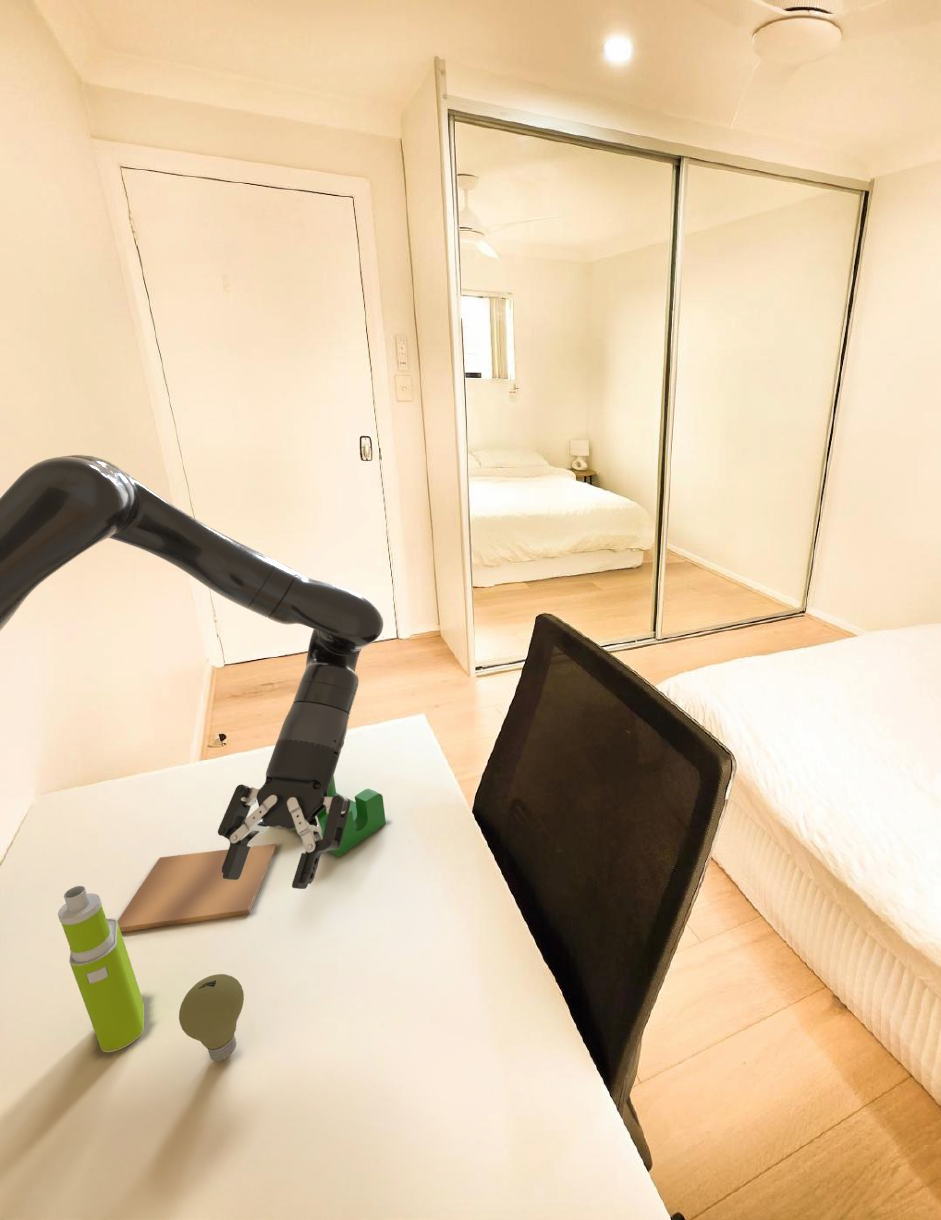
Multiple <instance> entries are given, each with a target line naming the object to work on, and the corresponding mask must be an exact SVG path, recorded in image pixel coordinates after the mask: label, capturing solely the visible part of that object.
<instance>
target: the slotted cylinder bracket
mask: <svg viewBox="0 0 941 1220" xmlns="http://www.w3.org/2000/svg"><path fill="white" fill-rule="evenodd" d="M335 781H336V780H335V775H334V776H333V779H332V782H331V784H330V786H329V788H328V791H327V795H328V797H334V796H336V795H339V796H342V794H339V793H338V792H337V787H336V782H335ZM350 802H351V803H350V808H349V812H348V816H347V821H346V825H345V829H344V834H343V838H342V843H341V846H340V848H339V849H337V850H330V851H329V852H330V853H331V854H333V855H335V856H337V857H341V856H343V855H344V854H345V853H346V852H348V851H349V850H351V849H352V848H354V847H355V846H356V845H358V844H359V843H360V842H362V841H363V840H365V839H366V838H367V837H370V835H372V834H373V833H374V832H376V831H377V830H378V829H380V828H381V827H383V826H385V824H386V815H385V805H384V797H383V794H381V793H379V792H377V791H375V790H374V789H371V788H365V789H363V790H362V791H361V792H358V794H356V795H354V801H353V800H351V799H350ZM327 817H328V814H327V813H326V807H325V808H324V809H323V810H322V811H321V812H320V813H319V814H318V815H317V818H318V821H319V824H320V827H321V830H322V832H321V835H322V838H323V834H324V830H325V825H326V821H327ZM290 831H292V832H294V833H296V834H298V833H297V830H292V829H290Z"/></svg>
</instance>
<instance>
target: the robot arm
mask: <svg viewBox="0 0 941 1220" xmlns="http://www.w3.org/2000/svg"><path fill="white" fill-rule="evenodd" d="M107 539H111V540H115V541H117V542H121V543H123V544H126V545H128V546H132V547H135V548H138V549H140V550H142V551H145V552H147V553H150V554H152V555H154V556H156V557H158V558H160V559H162V560H164V561H166V562H168V563H169V564H171V565H173V566H175V567H177V568H179V570H181V571H183V572H185V573H187V574H188V575H189V576H190V577H192V578H193V579H195V580H197V581H198V582H199V583H201V584H202V585H204V586H205V587H207V588H208V589H210V590H211V591H213V592H214V593H216V594H217V595H219V596H221V597H223V598H225V599H226V600H228V601H230V602H232V603H234V604H236V605H238V606H240V607H243V608H244V609H246V610H249V611H251V612H253V613H255V614H258V615H260V616H262V617H264V618H267V619H269V620H272V621H273V622H276V623H278V624H282V625H285V626H286V625H287V626H288V625H289V626H290V625H302V626H305V627H307V628H310V629H312V633H311V635H310V640H309V643H308V649H307V653H306V654H307V655H306V659H305V668H304V672H303V674H302V677H301V679H300V681H299V684H298V687H297V690H296V692H295V696H294V698H293V700H292V704H291V706H290V708H289V710H288V712H287V713H286V716H285V718H284V720H283V723H282V725H281V729H280V731H279V734H278V737H277V740H276V743H275V746H274V748H273V751H272V754H271V757H270V759H269V762H268V766H267V768H266V771H265V781H264V784H263V785H261V787H260V788H256V787H253V786H249V785H245V784H238V785H237V786H236V787H235V789H234V791H233V794H232V796H231V797H230V798H231V799H230V801H229V803H228V805H227V808H226V810H225V812H224V815H223V816H222V817H223V818H222V819H221V822H220V824H219V827H218V828H217V835H219V836H221V837H224V838H225V839H227V841H229V847H228V849H227V850H228V852H227V855H226V858H225V861H224V863H223V866H222V873H223V879H229V880H238V879H239V878H240V876H241V873H242V870H243V867H244V864H245V861H246V858H247V855H248V852H249V850H250V847H252V846H251V845H250V844H251V843H252V842H253V841H254V840H255V839H256V838H258V837H259V835H261V834H262V833H265V832H267V831H268V830H269V829H270V828H274V829H275V828H276V829H288V830H291V829H292V830H297V833H296V834H297V835H298V836H299V838H300V840H301V841H302V844H303V848H304V852H301V854H300V856H299V861H298V864H297V867H296V871H295V873H294V877H293V880H292V882H291V888H292V889H297V890H306V889H307V888H308V886H309V885H311V884H312V883H313V881H314V880H315V876H316V874H317V873H316V872H317V869H318V866H319V863H320V859H321V856H322V855H323V854H325V853H326V852H330V850H337V849H339V848H340V846H341V843H342V838H343V834H344V829H345V825H346V821H347V816H348V812H349V808H350V803H351V802H350V800H351V799H349V798H348V797H345V796H343V795H341V796H339V795H340V794H339V795H336V796H334V797H328V795H327V791H328V788H329V786H330V784H331V782H332V779H333V776H334V777H335V772H336V769H337V765H338V763H339V759H340V756H341V753H342V749H343V747H344V745H345V739H346V736H347V731H348V727H349V726H348V725H349V720H350V715H351V712H352V709H353V706H354V703H355V699H356V697H357V692H358V687H359V682H360V681H359V680H360V679H359V675H358V674H357V673H356V668H357V664H358V661H359V660H358V659H359V656H360V653H361V651H362V649H364V648H366V647H368V646H370V645H371V644H372V643H374V642H375V641H376V640H378V639H379V637H380V635H381V634H382V632H383V630H384V629H383V628H384V618H383V615H382V613H381V611H380V609H379V608H378V607H377V606H376V604H375V603H373V602H372V601H371V600H369V599H368V598H367V597H365V596H363V595H361V594H359V593H356V592H354V591H353V590H349V589H346V588H343V587H340V586H337V585H334V584H330V583H328V582H324V581H321V580H317V579H313V578H311V577H308V576H306V575H304V574H303V573H300V572H299V571H296V570H295V569H293V568H291V567H289V566H287V565H285V564H283V563H281V562H280V561H278V560H275V559H273V558H271V557H270V556H267V555H265V554H263V553H262V552H260V551H258V550H256V549H253V548H251V547H250V546H247V545H245V544H244V543H241V542H239V541H238V540H235V539H233V538H231V537H229V536H228V535H225V534H223V533H221V532H220V531H218V530H215V529H214V528H212V527H210V526H208V525H206V524H204V523H203V522H201V521H199V520H198V519H196V518H194V517H193V516H191V515H190V514H188V513H186V512H185V511H183V510H181V509H179V508H178V507H176V506H175V505H173V504H172V503H170V502H168V501H167V500H165V499H164V498H163V497H161V496H160V495H158V494H157V493H155V492H154V491H152V490H151V489H149V488H148V487H147V486H145V485H144V484H143V483H141V482H140V481H138V480H137V479H135V478H134V477H132V476H131V475H130V474H128V473H127V472H125V471H124V470H123V469H121V468H120V467H119V466H117V465H116V464H114V463H113V462H110V461H109V460H106V459H104V458H100V457H97V456H94V455H85V454H71V455H65V456H63V455H62V456H55V457H50V458H47V459H44V460H41V461H39V462H37V463H35V464H33V465H32V466H30V467H29V468H27V469H26V470H24V471H23V473H22V474H21V475H20V476H19V477H18V478H17V479H16V480H15V481H14V482H13V483H12V484H11V485H10V486H9V488H8V489H7V490H6V491H4V493H3V495H2V496H0V632H1V631H2V630H3V629H4V627H5V626H6V625H7V624H8V623H9V622H10V620H11V619H12V618H13V616H15V614H16V612H17V611H18V609H19V608H20V607H21V605H22V604H23V603H24V601H25V600H26V599H27V598H28V597H29V595H30V594H31V593H32V592H33V591H34V590H35V589H36V588H37V587H38V586H39V585H40V584H42V583H43V582H44V581H46V579H48V578H49V577H50V576H51V575H53V574H55V573H56V572H57V571H59V570H60V569H61V568H63V567H64V566H65V565H67V564H68V563H70V562H71V561H72V560H74V559H75V558H78V556H80V555H82V554H83V553H84V552H86V551H87V550H89V549H90V548H93V546H95V545H97V544H100V543H101V542H103V541H105V540H107ZM256 803H257V805H258V807H257V808H256V809H255V810H254V811H253V812H252V813H251V814H250V815H249V812H250V810H251V807H252V806H253V805H255V804H256ZM325 807H326V813H327V814H328V817H327V821H326V825H325V830H324V834H323V838H322V835H321V832H322V830H321V827H320V824H319V821H318V818H317V815H318V814H319V813H320V812H321V811H322V810H323V809H324V808H325ZM248 815H249V816H248ZM292 830H291V831H292ZM249 845H250V846H249Z"/></svg>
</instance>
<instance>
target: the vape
mask: <svg viewBox="0 0 941 1220" xmlns="http://www.w3.org/2000/svg"><path fill="white" fill-rule="evenodd" d="M63 898H64V901H65V903H64V904H63V905H62V906H61V907H60V908H59V910H58V912H57V917H58V919H59V922H60V923H61V926H62V929H63V933H64V934H65V938H66V941H67V943H68V946H69V950H70V953H69V964H70V968H71V970H72V973H73V976H74V979H75V981H76V984H77V987H78V989H79V992H80V995H81V998H82V1000H83V1004H84V1005H85V1009H86V1011H87V1014H88V1017H89V1020H90V1023H91V1025H92V1028H93V1030H94V1034H95V1037H96V1039H97V1041H98V1044H99V1047H100V1050H101V1051H102V1052H103V1053H113V1052H116V1051H120V1050H122V1049H124V1048H126V1047H128V1046H129V1045H131V1044H133V1043H134V1042H135V1041H137V1040H138V1039H139V1038H140V1037H141V1036H142V1035H143V1033H144V1030H145V1004H144V1000H143V997H142V994H141V991H140V987H139V984H138V981H137V977H136V974H135V972H134V968H133V966H132V965H133V964H132V962H131V959H130V956H129V953H128V950H127V947H126V944H125V941H124V937H123V934H122V932H121V931H120V928H119V925H118V922H117V921H118V919H116V918H112V917H111V918H107V917H106V914H105V911H104V907H103V905H102V900H101V897H100V895H99V894H98V893H94V892H93V893H91V892H90V893H88V892H87V890H86V887H85V886H83V885H76V886H74V887H71V888H70V889H68V890H67V891H65V892H64V894H63Z"/></svg>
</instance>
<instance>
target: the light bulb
mask: <svg viewBox="0 0 941 1220" xmlns="http://www.w3.org/2000/svg"><path fill="white" fill-rule="evenodd" d="M244 1000H245V993H244V989H243V987H242V984H241V983H240V982H239V980H238V979H237V978H235V977H234V976H233V975H229V974H225V973H220V974H219V973H218V974H217V973H216V974H213V975H209V976H207V977H204V978H203V979H201V980H199V981H198V982H196V984H194V985H193V986H192V987H191V988H190V989H189V990H188V992H187V993H186V994H185V996H184V998H183V999H182V1001H181V1004H180V1007H179V1013H178V1020H179V1021H178V1022H179V1025H180V1028H181V1029H182V1031H183V1033H185V1034H186V1036H188V1037H190V1038H191V1039H194V1040H196V1041H198V1042H200V1043H201V1044H202V1045H203V1047H204V1048H206V1049H207V1051H208V1055H209V1058H210V1060H211V1061H213V1062H220V1061H224V1060H225V1059H227V1058H229V1057H230V1056H231V1055H232V1054H233V1053H234V1051H235V1049H236V1047H237V1040H236V1039H237V1038H236V1036H235V1034H236V1030H237V1025H238V1019H239V1017H240V1015H241V1012H242V1010H243V1006H244Z"/></svg>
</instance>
